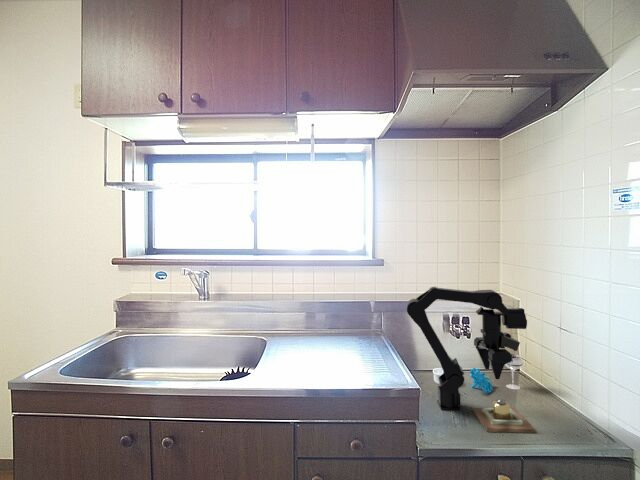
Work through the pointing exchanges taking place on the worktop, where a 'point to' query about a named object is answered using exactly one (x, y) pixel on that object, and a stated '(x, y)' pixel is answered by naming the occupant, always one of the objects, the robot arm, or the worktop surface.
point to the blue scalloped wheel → (481, 380)
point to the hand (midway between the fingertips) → (492, 374)
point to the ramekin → (437, 374)
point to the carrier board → (503, 421)
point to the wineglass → (514, 368)
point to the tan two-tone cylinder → (501, 410)
